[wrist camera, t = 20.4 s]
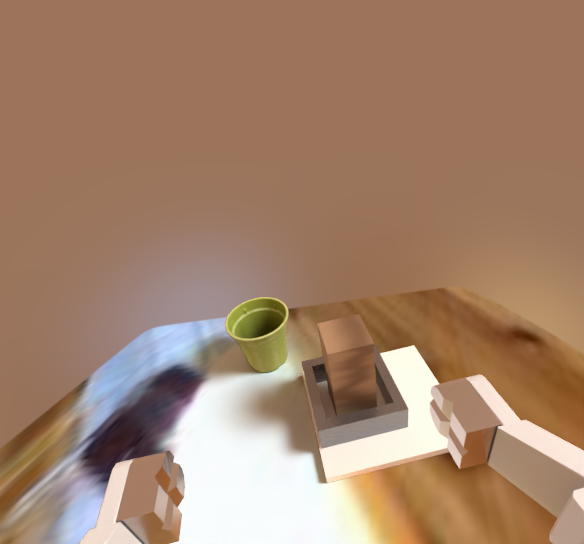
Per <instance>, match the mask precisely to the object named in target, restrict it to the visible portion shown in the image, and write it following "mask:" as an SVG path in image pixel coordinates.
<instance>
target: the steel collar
mask: <svg viewBox="0 0 584 544" xmlns="http://www.w3.org/2000/svg"><path fill="white" fill-rule="evenodd" d="M374 353H375V373H376V383H377V385H378V387H379V389H380V391H381V394H382V396H383V398H384V400H385V402H386V405H381V406H377V407H373V408H369V409H365V410H361V411H357V412H353V413H349V414H345V415H341V416H337V417H333V418H329V419H326V417H325V413H324V409H323V406H322V402H321V398H320V395H319V391H318V387H317V383H320V382H324V381H327V379H326V373H325V367H324V361H323V357H320V358H316V359H312V360H307V361H303V362H302V366H303V371H304V375H305V380H306V384H307V388H308V393H309V397H310V401H311V405H312V409H313V413H314V418H315V422H316V426H317V430H318V434H319V439H320V443H321V447H322V449H323V448H327V447H331V446H335V445H339V444H343V443H347V442H351V441H355V440H359V439H363V438H367V437H371V436H375V435H379V434H383V433H387V432H391V431H395V430H399V429H403V428H407V427H408V410H409V409H408V407H407V405H406V403H405V401H404V399H403V397H402V395H401V393H400V391H399V390H398V388H397V386H396V384H395V382H394V380H393V378H392V376H391V374H390V372H389V370H388V368H387V366H386V364H385V363H384V361H383V359H382V357H381V355H380V353H379V351H378V349H377V347H376V345H374Z"/></svg>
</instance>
